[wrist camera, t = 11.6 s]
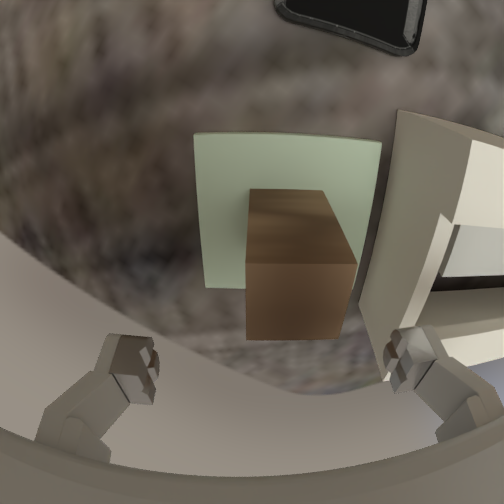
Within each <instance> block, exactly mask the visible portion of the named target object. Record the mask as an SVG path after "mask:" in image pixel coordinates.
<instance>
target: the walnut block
mask: <svg viewBox="0 0 504 504" xmlns="http://www.w3.org/2000/svg"><path fill="white" fill-rule="evenodd" d="M357 266H358V263H357V261H356V258H355V256H354V254H353V252H352V250H351V247H350V245H349V243H348V241H347V239H346V237H345V235H344V232H343V230H342V228H341V226H340V224H339V222H338V220H337V218H336V216H335V214H334V212H333V210H332V208H331V206H330V204H329V202H328V200H327V198H326V196H325V194H324V192H323V190H300V189H250V194H249V210H248V226H247V242H246V259H245V284H246V340H322V339H338V338H339V335H340V331H341V328H342V324H343V321H344V317H345V314H346V310H347V306H348V303H349V299H350V295H351V291H352V287H353V283H354V279H355V275H356V271H357Z"/></svg>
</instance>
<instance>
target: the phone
mask: <svg viewBox="0 0 504 504" xmlns="http://www.w3.org/2000/svg"><path fill="white" fill-rule="evenodd" d="M426 4H427V0H275V2H274V6H275V9H276V12H277V13H278V14H279V15H280V17H282V18H283V19H284V20H286V21H288V22H291V23H294V24H298V25H302V26H305V25H306V27H310V28H314V29H317V30H321V31H324V32H328V33H331V34H334V35H338V36H341V37H344V38H347V39H350V40H353V41H356V42H359V43H361V44H364V45H367V46H370V47H372V48H375V49H377V50H380V51H382V52H385V53H387V54H390V55H393V56H409V55H411V54H413V53H414V52H415V51H416V50H417V48H418V45H419V41H420V37H421V32H422V27H423V21H424V16H425V10H426Z"/></svg>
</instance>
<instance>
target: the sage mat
mask: <svg viewBox="0 0 504 504" xmlns="http://www.w3.org/2000/svg"><path fill="white" fill-rule="evenodd" d="M193 137H194V156H195V172H196V187H197V201H198V214H199V226H200V237H201V248H202V259H203V269H204V278H205V287H206V288H237V289H246V284H245V259H246V242H247V226H248V210H249V194H250V189H300V190H323V192H324V194H325V196H326V198H327V200H328V202H329V204H330V206H331V208H332V210H333V212H334V214H335V216H336V218H337V220H338V222H339V224H340V226H341V228H342V230H343V232H344V235H345V237H346V239H347V241H348V243H349V245H350V247H351V250H352V252H353V254H354V256H355V258H356V261H357V263H358V266H357V271H356V275H355V279H354V283H353V287H352V289H353V288H354V284H355V280H356V276H357V272H358V268H359V264H360V260H361V255H362V251H363V247H364V242H365V237H366V233H367V228H368V223H369V218H370V213H371V208H372V203H373V197H374V191H375V186H376V180H377V173H378V167H379V160H380V153H381V146H382V143H381V142H379V141H377V140H369V139H361V138H352V137H341V136H330V135H317V134H301V133H280V132H203V133H195V134H194V135H193Z"/></svg>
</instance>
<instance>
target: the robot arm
mask: <svg viewBox="0 0 504 504" xmlns="http://www.w3.org/2000/svg"><path fill="white" fill-rule="evenodd" d="M390 338H391V341H390V342H389V343H387V344H386V346H385V348H384V351H383V362H384V366H385V369H386V370H387V371H389V372H390V373H391V375H390V378H389V380H390V382H391V385H392V388H393V391H394V394H396V393H401V392H407V391H412V390H414V392H415V393H416V394H417V395H418V396H419V397H420V398H421V399H422V400H423V401H424V402H425V403H426V404H427V405H428V406H429V407H430V408H431V409H432V410H433V411H434V412H435V413H436V414H437V415H438V416H439V417H440V418H441V419H442V420H443V421H444V423H443V424H442V425H441V426H440V427H439V428H438V429H437V430H436V432H435V434H436V437H437V440H438V443H437V444H434V445H432V446H428V447H425V448H422V449H419V450H416V451H413V452H409V453H406V454H403V455H399V456H395V457H391V458H387V459H383V460H379V461H375V462H370V463H366V464H362V465H356V466H351V467H346V468H339V469H333V470H327V471H320V472H312V473H303V474H292V475H280V476H260V477H216V476H197V475H183V474H174V473H164V472H157V471H150V470H143V469H137V468H131V467H126V466H121V465H116V464H111V463H110V457H111V450H110V448H109V447H108V446H107V445H106V444H105V443H103V441H101V440H100V438H101V437H102V436H103V435H104V434H105V433H106V432H107V430H108V429H109V428H110V427H111V426H112V425H113V424H114V422H115V421H116V420H117V419H118V418H119V417H120V415H121V414H122V413H123V412H124V411H125V410H126V408H127V407H128V406H129V405H130V403H134V404H145V405H153V402H154V396H155V392H156V388H155V386H154V383H153V382H154V381H155V380H157V378H158V375H159V357H158V354H157V352H156V351H155V350H153V347H154V342H153V340H152V337H143V336H131V335H121V334H110V333H109V334H108V335H107V337H106V338H105V341H104V344H103V347H102V349H101V352H100V355H99V357H98V360H97V363H96V366H95V369H94V371H89V372H88V373H87V374H86V375H84V376H83V377H82V378H81V379H80V380H79V381H77V382H76V383H75V384H74V385H73V386H71V387H70V388H69V389H68V390H67V391H66V392H64V393H63V394H62V395H61V396H60V397H58V398H57V399H56V400H55V401H54V402H53V403H51V404H50V405H49V406H48V407H47V408H45V410H44V413H43V416H42V419H41V422H40V425H39V428H38V431H37V434H36V437H35V440H34V441H32V440H30V439H27V438H25V437H22V436H20V435H17V434H15V433H12V432H10V431H8V430H5V429H3V428H1V427H0V504H504V407H503V405H502V403H501V400H500V398H499V396H498V394H497V392H496V390H495V388H494V387H493V386H492V385H490V384H489V383H488V382H486V381H485V380H484V379H482V378H481V377H479V376H478V375H477V374H476V373H474V372H473V371H471V370H470V369H469V368H467V367H466V366H465V365H463V364H462V363H460V362H459V361H458V360H456V359H455V358H453V357H449V356H448V354H447V352H446V350H445V348H444V346H443V344H442V342H441V341H440V339H439V337H438V335H437V333H436V331H435V330H434V328H433V326H431V325H430V324H429V325H422V326H413V327H406V328H399V329H395V330H393V331H392V333H391V335H390Z"/></svg>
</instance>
